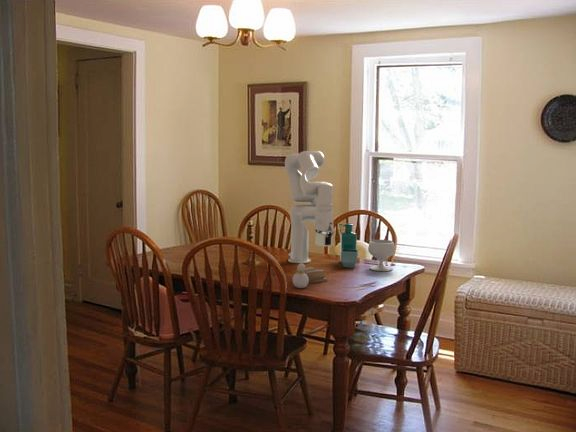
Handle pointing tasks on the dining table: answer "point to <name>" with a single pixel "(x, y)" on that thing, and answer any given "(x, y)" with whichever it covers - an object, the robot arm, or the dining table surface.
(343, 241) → the pitcher
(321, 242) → the cream block
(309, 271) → the walnut pedestal
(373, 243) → the chalice
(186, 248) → the dining table surface
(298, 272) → the perfume bottle
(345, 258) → the flower pot
